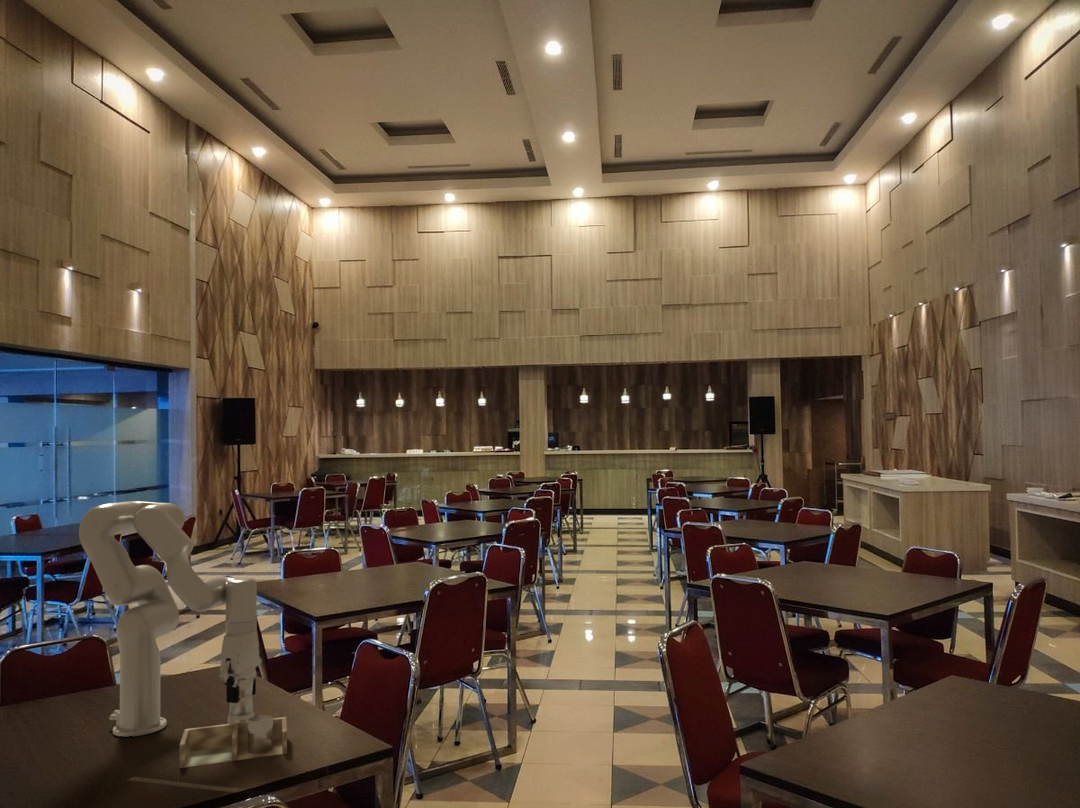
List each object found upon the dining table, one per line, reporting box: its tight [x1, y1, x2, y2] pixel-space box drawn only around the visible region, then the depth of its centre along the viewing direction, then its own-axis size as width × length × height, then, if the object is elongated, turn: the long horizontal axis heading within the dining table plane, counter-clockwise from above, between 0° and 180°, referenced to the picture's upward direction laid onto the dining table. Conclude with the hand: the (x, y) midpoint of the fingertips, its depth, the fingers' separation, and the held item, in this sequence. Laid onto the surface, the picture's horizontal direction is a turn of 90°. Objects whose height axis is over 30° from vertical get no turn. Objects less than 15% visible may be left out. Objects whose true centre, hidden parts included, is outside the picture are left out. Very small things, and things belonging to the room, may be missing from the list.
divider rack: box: [179, 716, 288, 769], centre depth 187 cm, size 23×11×6 cm, turn 109°
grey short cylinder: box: [248, 714, 274, 754], centre depth 188 cm, size 6×6×7 cm
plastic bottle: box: [226, 666, 255, 724], centre depth 203 cm, size 6×7×20 cm
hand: (241, 697), depth 203 cm, fingers closed on plastic bottle, 6 cm apart
